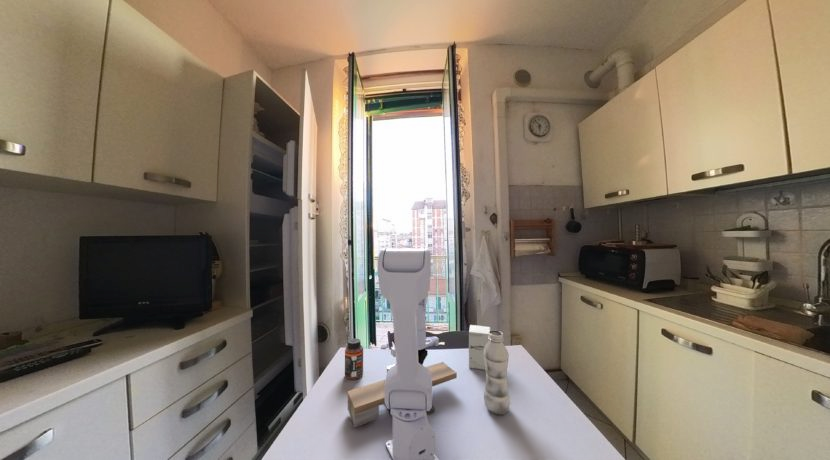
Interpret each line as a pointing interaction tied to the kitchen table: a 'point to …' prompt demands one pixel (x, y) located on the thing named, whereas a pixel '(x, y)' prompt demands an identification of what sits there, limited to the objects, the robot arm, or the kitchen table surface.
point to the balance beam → (373, 395)
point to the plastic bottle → (496, 374)
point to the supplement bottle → (354, 359)
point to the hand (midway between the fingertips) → (415, 375)
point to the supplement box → (477, 346)
